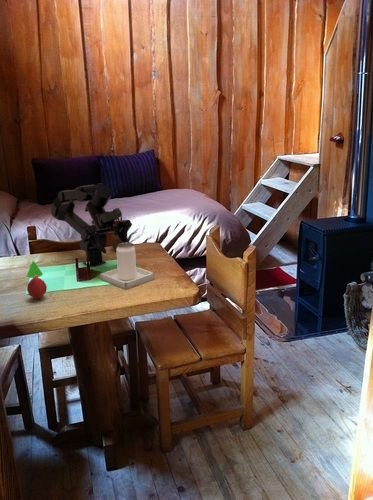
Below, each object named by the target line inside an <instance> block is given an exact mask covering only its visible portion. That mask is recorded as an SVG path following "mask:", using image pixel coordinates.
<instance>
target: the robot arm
mask: <svg viewBox="0 0 373 500" xmlns="http://www.w3.org/2000/svg"><path fill="white" fill-rule="evenodd" d="M112 196H113V191H112V189H111V188H110V187H109V186H106V185H104V184H103V182H101V183H96V184H88V185H87V184H86V185H79V186H78V187H75V189H71V190H70V189H66V190H61V191H59V192H58V193H57V197H56V198H55V199H54V200H53V201H52V204H51V208H50V213H51V216H52V217H53V218H54V219H55V220H57V221H62V222H65V223H67V224H68V226H70V228H73V229H74V230H75V231H76V232H77V233H78V234H79V235H80V239H81V241H80V242H79V248H80V250H82V251H84V252H85V260H86V259H87V258H89V261H90V266H89V267H93V268H94V267H98V266H100V265H104V264H106V263H107V262H106V260H103V254H104V255H105V254H107V249H106V245H107V239H108V236H107V234H108V233H111V232H112V233H114V232H113V231H116V232H117V233H118V234H119V235H118V237H119V238H120V240H121V241H122V243H129V240H128V238H129V237H128V231H130V229H131V228H132V226H133V223H132V221H131V220H130V219H124V220H123V219H122V221H120V222H119V223H118V225H116V226H114V224H115V221H116V220H117V221H118V219H119V220H120V218H121V216H122V215H123V214H122V211H121V209H120V208H119V207H118V208H117V207H116V208H114V209H112V210H110V211H107V210H106V209H105V207H106V206H107V204H108V203H109V201H110V199H111V197H112ZM73 200H77V202H81V203H85V202H87V203H86V204H85V208H84V212H85V213H86V212H88V213H89V216H90V217H91V219H92V221H91V225H90V224H89V223H88V222H86V221H85V220H84V219H82V218H81V217H80V216H79V215H78V214H77V213H75V211H74V210H75V206H76V204H75V202H74V201H73ZM66 201H68V202H66ZM63 202H64V203H63ZM122 217H123V216H122ZM82 263H83V264H84V265H86V261H83V262H82Z"/></svg>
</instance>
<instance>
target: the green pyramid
mask: <svg viewBox="0 0 373 500" xmlns="http://www.w3.org/2000/svg"><path fill="white" fill-rule="evenodd" d="M35 275H37V276H38V278H40V277H42V276H43V275H44V274H43V272H42V270H41V269H40V267H38V264H36V263H35V260H31V264H30V266H29V269H28V271H27V274H26V278H28V279H33V278H34V276H35Z"/></svg>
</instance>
